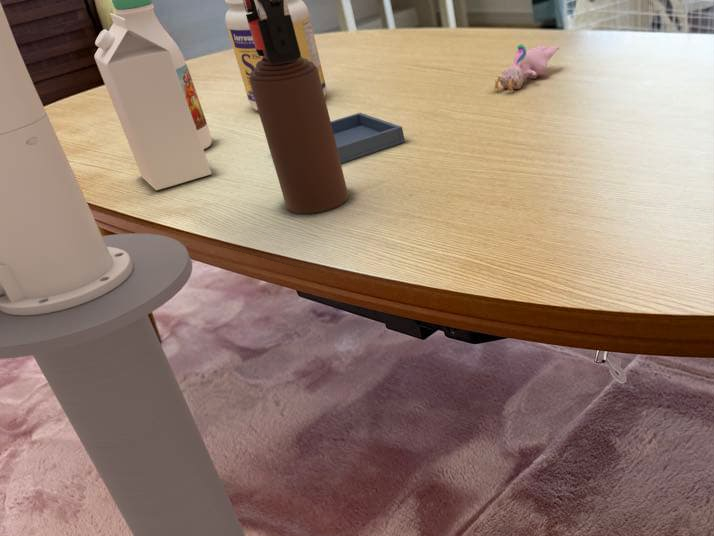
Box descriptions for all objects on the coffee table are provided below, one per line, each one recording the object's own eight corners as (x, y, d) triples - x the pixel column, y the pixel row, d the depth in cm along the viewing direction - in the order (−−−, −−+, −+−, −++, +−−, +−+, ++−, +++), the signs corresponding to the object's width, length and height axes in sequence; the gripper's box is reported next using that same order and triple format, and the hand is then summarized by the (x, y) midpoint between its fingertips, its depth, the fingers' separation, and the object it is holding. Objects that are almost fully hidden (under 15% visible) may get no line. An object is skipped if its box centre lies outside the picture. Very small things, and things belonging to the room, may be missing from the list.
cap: (300, 43, 81) (294, 18, 79) (261, 52, 79) (253, 27, 78) (290, 37, 84) (283, 13, 82) (251, 46, 82) (244, 21, 81)
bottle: (303, 219, 87) (251, 36, 76) (276, 203, 92) (224, 29, 81) (359, 199, 91) (317, 21, 80) (330, 185, 95) (287, 15, 84)
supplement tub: (242, 118, 123) (204, -4, 113) (262, 95, 133) (229, -18, 123) (320, 110, 122) (289, -13, 112) (335, 88, 132) (308, -27, 122)
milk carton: (196, 162, 107) (141, 7, 96) (213, 175, 102) (156, 13, 91) (142, 178, 104) (78, 19, 93) (156, 192, 99) (91, 26, 88)
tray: (315, 172, 100) (310, 156, 98) (277, 154, 107) (272, 139, 106) (405, 141, 106) (402, 126, 105) (363, 126, 113) (360, 112, 112)
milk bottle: (169, 162, 108) (108, -1, 97) (148, 152, 113) (87, -5, 102) (222, 145, 112) (170, -13, 101) (200, 136, 117) (147, -16, 105)
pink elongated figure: (522, 102, 120) (573, 59, 128) (514, 63, 115) (566, 20, 124) (489, 99, 123) (540, 57, 131) (479, 60, 118) (533, 19, 127)
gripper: (285, -170, 67) (339, 62, 77) (240, -163, 79) (293, 37, 90) (193, -159, 64) (262, 80, 75) (161, -153, 76) (225, 52, 87)
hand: (278, 54), depth 82 cm, fingers closed on cap, 4 cm apart
